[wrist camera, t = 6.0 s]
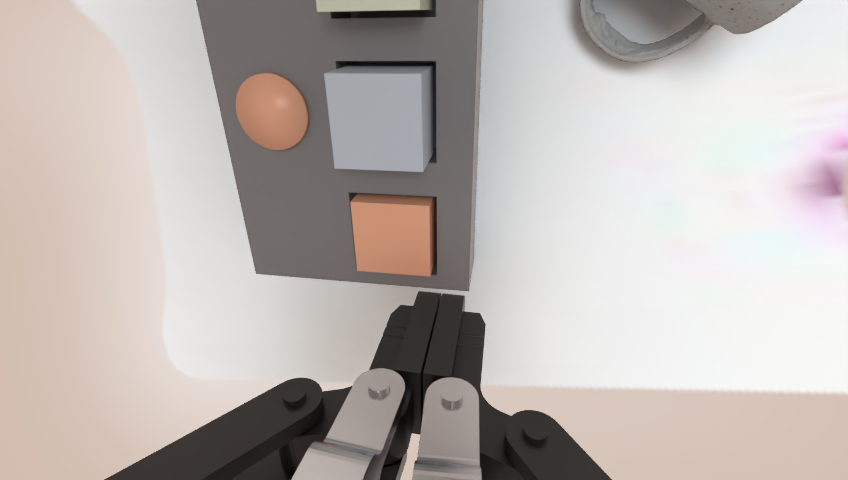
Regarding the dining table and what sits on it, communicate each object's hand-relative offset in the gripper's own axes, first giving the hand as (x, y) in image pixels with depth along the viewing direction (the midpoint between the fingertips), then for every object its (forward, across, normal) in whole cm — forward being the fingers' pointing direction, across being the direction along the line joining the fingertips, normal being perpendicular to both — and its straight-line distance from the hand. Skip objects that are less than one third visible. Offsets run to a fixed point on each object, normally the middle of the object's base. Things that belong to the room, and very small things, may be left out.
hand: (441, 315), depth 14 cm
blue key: (+12, +4, -4) cm, 13 cm away
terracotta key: (+14, +4, +3) cm, 15 cm away
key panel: (+15, +7, -4) cm, 17 cm away
